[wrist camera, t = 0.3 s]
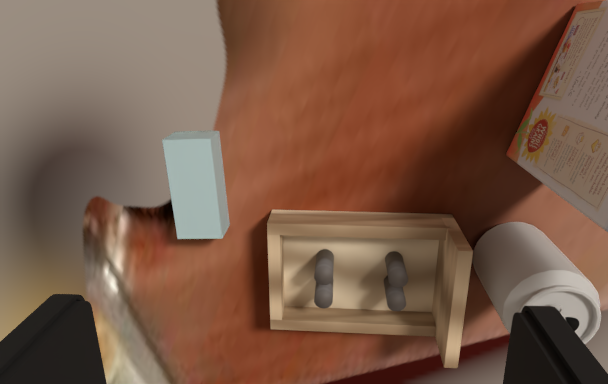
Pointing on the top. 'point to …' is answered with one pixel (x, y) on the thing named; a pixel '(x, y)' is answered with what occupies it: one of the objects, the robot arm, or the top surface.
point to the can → (534, 277)
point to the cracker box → (572, 117)
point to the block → (197, 184)
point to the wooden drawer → (369, 274)
